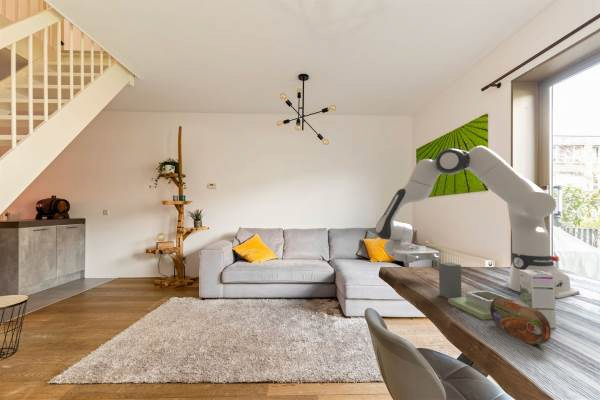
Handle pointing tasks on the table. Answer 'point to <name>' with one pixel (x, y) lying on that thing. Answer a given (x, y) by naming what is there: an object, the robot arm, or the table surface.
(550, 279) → the syrup box
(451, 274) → the chute block
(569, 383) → the table surface
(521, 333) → the tin
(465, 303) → the deck plate
